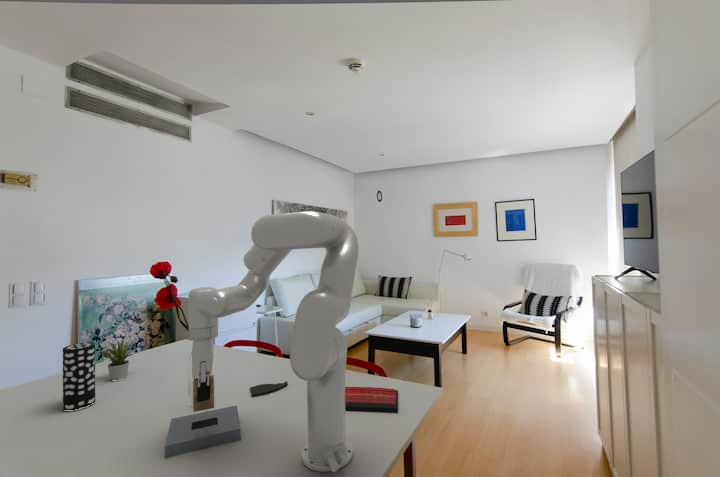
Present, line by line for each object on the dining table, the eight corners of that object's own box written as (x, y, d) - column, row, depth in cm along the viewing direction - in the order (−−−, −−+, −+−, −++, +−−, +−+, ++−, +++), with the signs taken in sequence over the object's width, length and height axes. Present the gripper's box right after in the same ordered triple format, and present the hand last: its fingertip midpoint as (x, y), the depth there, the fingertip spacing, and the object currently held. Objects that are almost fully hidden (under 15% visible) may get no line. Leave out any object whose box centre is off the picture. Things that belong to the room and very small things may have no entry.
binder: (397, 407, 101) (330, 404, 104) (397, 415, 101) (330, 412, 104) (398, 387, 117) (340, 385, 120) (398, 393, 117) (340, 392, 120)
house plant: (134, 368, 145) (134, 331, 145) (148, 375, 136) (147, 335, 137) (94, 379, 133) (94, 339, 133) (106, 387, 125) (106, 344, 125)
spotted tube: (97, 405, 111) (97, 345, 111) (64, 414, 105) (64, 351, 105) (93, 397, 117) (92, 341, 117) (61, 406, 111) (61, 346, 111)
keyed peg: (193, 412, 90) (192, 382, 90) (194, 406, 93) (193, 378, 93) (214, 407, 92) (213, 379, 92) (214, 402, 95) (213, 375, 95)
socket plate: (240, 439, 89) (240, 428, 89) (164, 458, 82) (164, 446, 82) (237, 415, 102) (236, 405, 102) (171, 429, 95) (171, 418, 95)
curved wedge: (290, 391, 119) (290, 387, 119) (251, 399, 114) (251, 394, 114) (286, 382, 127) (286, 378, 127) (249, 389, 122) (249, 385, 122)
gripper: (190, 327, 99) (190, 388, 98) (186, 341, 84) (186, 414, 83) (217, 324, 102) (217, 384, 101) (218, 337, 87) (218, 407, 87)
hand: (203, 397), depth 92 cm, fingers closed on keyed peg, 2 cm apart
